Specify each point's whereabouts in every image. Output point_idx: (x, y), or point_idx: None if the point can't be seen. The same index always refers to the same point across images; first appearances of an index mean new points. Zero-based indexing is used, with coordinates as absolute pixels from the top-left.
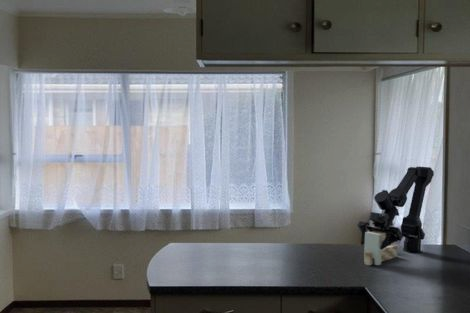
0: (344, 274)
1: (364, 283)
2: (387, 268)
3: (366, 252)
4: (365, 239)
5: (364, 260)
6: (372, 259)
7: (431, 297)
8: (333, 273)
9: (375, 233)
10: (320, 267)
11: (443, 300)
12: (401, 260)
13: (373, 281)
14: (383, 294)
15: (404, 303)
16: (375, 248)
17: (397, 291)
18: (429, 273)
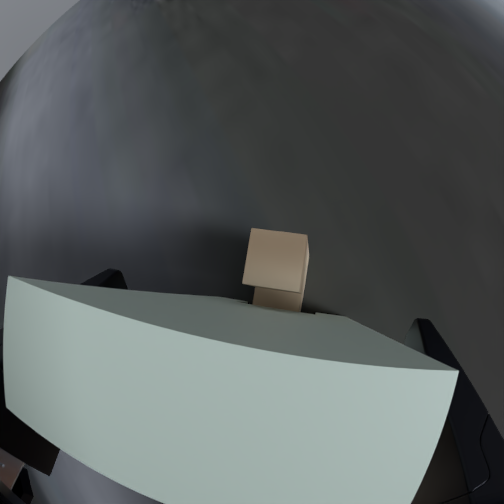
0: (287, 19)
1: (173, 10)
2: (145, 271)
3: (291, 235)
4: (376, 336)
5: (341, 316)
6: (256, 296)
7: (17, 87)
8: (331, 7)
9: (101, 418)
10: (433, 41)
11: (3, 96)
12: None
13: (150, 41)
14: (109, 7)
15: (70, 17)
16: (195, 299)
17: (78, 45)
18: None
